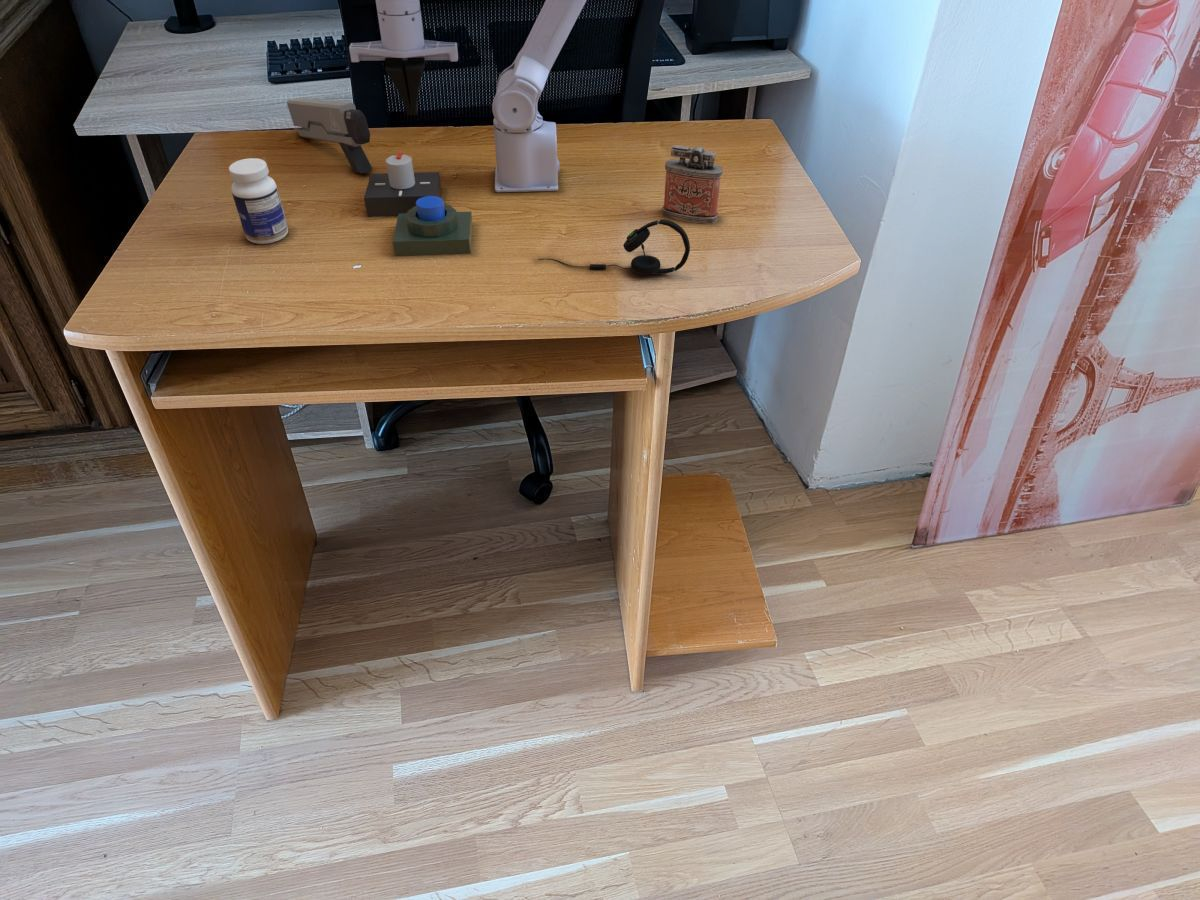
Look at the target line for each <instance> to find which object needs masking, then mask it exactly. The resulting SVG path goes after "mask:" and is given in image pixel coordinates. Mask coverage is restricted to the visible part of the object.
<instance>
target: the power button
mask: <svg viewBox="0 0 1200 900" xmlns="http://www.w3.org/2000/svg"><path fill="white" fill-rule="evenodd" d="M444 204H445V202H444V199H443V198H442V197H441V198H440V197H437V196H426V197H422V198H420V199H418V200H417V201H416V207H417V214H418V218H419V220H424V221H436V220H439V219H442V218H444V217H445V210H444Z"/></svg>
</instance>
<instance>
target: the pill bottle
mask: <svg viewBox="0 0 1200 900" xmlns="http://www.w3.org/2000/svg"><path fill="white" fill-rule="evenodd" d="M228 172H229V175H230V178H231V179H232V180H233V182H232V184H231V186H230V187H231V188H230V190H231V191H230V192H231V194H232V198H233V201H234V204H235V207H236V211H237V213H238V218H239V221H240V224H241V227H242V230H243V234H244V237H245V238H246V240H247V241H249V242H251V243H253V244H256V245H257V244H258V245H268V244H273V243H276V242H279V241H281V240H283V239H284V238H285V237H286V236H287V235H288V233H289V227H288V222H287V219H286V215H285V212H284V208H283V204H282V202H281V197H280V193H279V191H278V186H277V183H276V181H275V180H274V179H273V178H272V177H271V176H269V173H270V170H269V167H268V164H267V162H266V161H265V160H264V159H261V158H257V157H256V158H255V157H249V158H243V159H239V160H236V161H234V162H232V163H231V164H230V165H229V166H228Z"/></svg>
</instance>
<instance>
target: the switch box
mask: <svg viewBox="0 0 1200 900" xmlns="http://www.w3.org/2000/svg"><path fill="white" fill-rule="evenodd" d="M444 210H445V217H444V218H442V219H439V220H436V221H424V220H419V218H418V214H417V207H416V206H414V207H413V208H412V209H410V210H409V211H407V213H402V214H398V216H397V219H396V223H395V228H394V233H393V237H392V247H393V253H394V257H407V256H410V257H411V256H441V255H444V256H445V255H471V253H472V239H473V229H474V228H473V227H474V224H473V216H472V211H457V210H456V209H455V208H454V207H453V206H452V205H450V204H446V203H444Z"/></svg>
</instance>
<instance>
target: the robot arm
mask: <svg viewBox="0 0 1200 900" xmlns="http://www.w3.org/2000/svg"><path fill="white" fill-rule="evenodd" d="M586 3H587V0H545V1H544V3H543V6H542V8H541V10H540V12H539V14H538V16H537V18H536V20H535V22H534V24H533V25H532V28H531V30H530V32H529V34H528V36H527V37H526V40H525V42H524V44H523V46H522V47H521V49H520V50H519V52H518V53H517V55H516V57H515V59H514V61H513V62H512V64H511V65H509V66H508V67H506V68H505V69H504V70H502V71H501V73H500V74H499V76H498V78H497V81H496V90H495V91H496V92H495V95H494V97H493V100H492V104H491V106H492V107H491V111H492V114H493V117H494V118H493V120H492V122H493V134H494V135H493V136H494V137H493V138H494V149H495V163H496V168H495V171H494V192H495V193H524V192H528V193H529V192H557V191H558V190H559V174H558V173H560V160H559V159H558V141H557V140H558V139H557V136H558V135H557V123H556V122H554V121H546V120H543V119H544V118H543V116H542V115H541V114H540V112H539V111H538V102H539V99H540V96H541V95H542V92H543V90H544V88H545V85H546V83H547V79H548V77H549V74H550V72H551V70H552V68H553V67H554V64H555V62H556V60H557V58H558V56H559V55H560V52H561V50H562V48H563V46H564V45H565V43H566V41H567V40H568V37H569V35H570V33H571V31H572V30H573V27H574V26H575V23H576V21H577V20H578V17H579V16H580V14H581V12H582V10H583V8H584V6H585V5H586ZM375 5H376V12H377V20H378V26H379V33H380V40H374V41H365V42H364V41H363V42H350V44H349V46H348V50H349V56H350V62H351V63H360V61H385V67H384V69H385V73H386V74H387V76H388V77H389V79H390V80H391V81H392V84H393V85H394V86H395V88H396V90H397V92H398V95H399V97H400V98H401V101H402V102H403V106H404V109H405V112H406V116H417V115H418V111H419V108H418V107H419V105H418V104H419V103H418V102H419V101H418V99H419V92H420V91H419V90H420V85H421V80H422V77H423V73H424V71H425V66H426V62H427V61H449V62H458V61H459V50H458V42H452V41H451V42H450V41H449V42H448V41H437V40H428V39H425V36H424V27H423V20H422V19H423V18H422V11H421V3H420V0H375Z"/></svg>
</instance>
